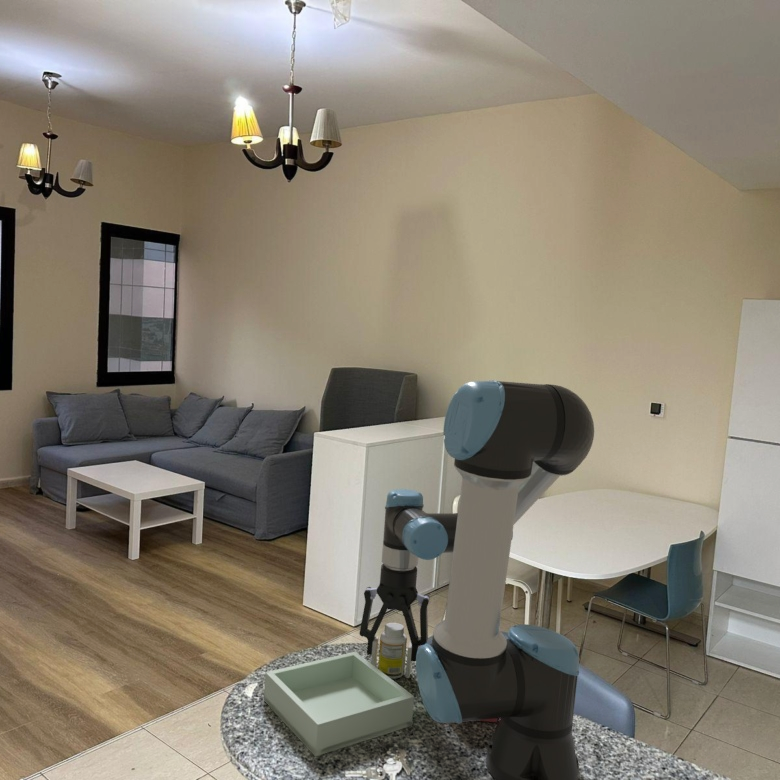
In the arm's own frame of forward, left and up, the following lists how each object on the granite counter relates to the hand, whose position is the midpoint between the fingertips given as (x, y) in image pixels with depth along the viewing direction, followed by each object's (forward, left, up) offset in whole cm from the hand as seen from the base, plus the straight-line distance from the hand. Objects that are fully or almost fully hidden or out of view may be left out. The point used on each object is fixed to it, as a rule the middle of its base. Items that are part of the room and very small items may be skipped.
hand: (390, 671), depth 148 cm
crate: (-8, +18, 0) cm, 20 cm away
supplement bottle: (0, 0, -1) cm, 1 cm away
